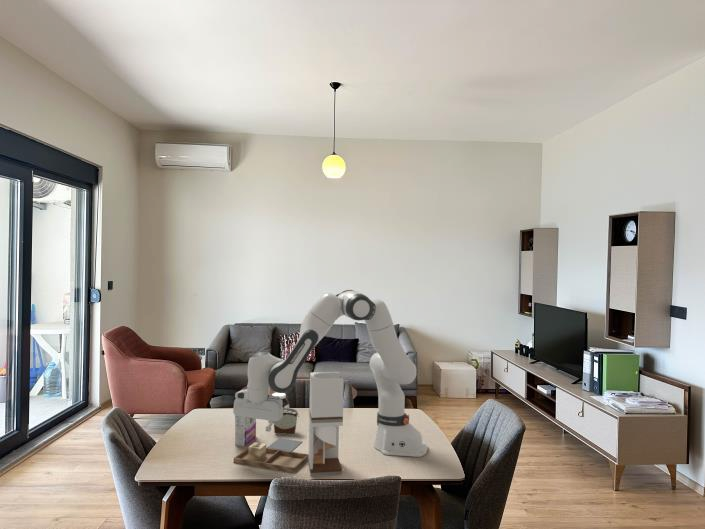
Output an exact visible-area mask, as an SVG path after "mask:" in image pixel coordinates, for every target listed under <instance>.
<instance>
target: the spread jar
mask: <svg viewBox="0 0 705 529" xmlns="http://www.w3.org/2000/svg"><path fill="white" fill-rule="evenodd" d="M271 395H272V396H279V398H281V399H282V401H283V405H282V408H290V403H289V402H290V401H289V400H288V399H287V396H286V393H277V392H274V393H272V394H271Z"/></svg>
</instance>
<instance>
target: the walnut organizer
mask: <svg viewBox="0 0 705 529" xmlns="http://www.w3.org/2000/svg"><path fill="white" fill-rule="evenodd" d="M248 451H249V446H248V447H247V448H246V449H244V450H242V451H241V452H240V453H239V454H237V455H236V456H234V457H233V463H234V464H240V465H244V466H245V465H246V466H250V467H251V466H252V467H257V468H263V469H267V470H274V471H279V472H286V473H293V474H295V473H296V472H297V471H298V470H299V469H300V468H301V467H303V466H304V464H306V462H307V461H309V453H302V452H296V451H292V452H290V451H284V450H277V449H271V448H267V447H266V457H265V458H264V459H263V460H261V461H260V462H258V461H252V460H248Z"/></svg>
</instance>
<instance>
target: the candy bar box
mask: <svg viewBox="0 0 705 529" xmlns="http://www.w3.org/2000/svg"><path fill="white" fill-rule="evenodd" d="M234 419H235V421H234V422H235V423H234V424H235V428H234V430H235V433H234V435H235V437H234V438H235V439H234V440H235V443H234V445H235V446H241V447H245V446H247V445H248V444H250V443H251V442H252V441H253V440H254V439H255V438H256V437H257V419H255V418H247V421H248V423H250V427H249V428H244V423H243V421H242V417H241V416H235V415H234Z"/></svg>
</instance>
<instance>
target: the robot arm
mask: <svg viewBox="0 0 705 529" xmlns="http://www.w3.org/2000/svg"><path fill="white" fill-rule="evenodd" d="M342 316H345V317H348V318H350V319H351V320H352V321H353V320H354V321H364V322H365V325H366V329H367V333H368V336H369V339H370V343H371V346H372V347H373V349H374V350H375V351H376V352H375V353H373V355H372V356H371V357H370V359H369V369H370V370H371V371H372V373H373V377H374V379H375V380H374V381H375V383H376V389H377V394H378V396H377V397H378V409H377V410H378V411H377V414H376V425H377V428H376V429H377V430H376V437H375V440H374V444H373V447H374V448H375V449H376V450H377V451H380V452H381V453H382V454H383V455H384V456H385V455H386V456H402V457H412V458H415V457H416V458H421V457H424V456H425V455H426V454H427V452H428V449H429V448H428V444H427V443H426V442H424V441H423V438H422V434H421V432H420V430H418V429H417V428H416V427H414V426H413V425H412V424H411V423H410V414H407V413H405V403H406V402H405V398H406V396H405V393H404V391H403V389H402V388H401V385H408V384H411V383H413V381H415V379H416V376H417V366H416V365H415V363H414V362H413V361H412V360H411V359H410V357H409V356H408V355H407V353H406V351H405V350H404V348H403V347H402V345H401V343H400V340H399V339H398V336H397V332H396V329H395V326H394V323H393V319H392V315H391V313H390V310H389V309H388V307H387V304H386V303H385V301H383V300H381V299H372V300H371V299H370V298H369V297H368V296H367V295H365V294H363V293H362V292H359V291H356V290H353V289H346V290H344V291H342V292H339V293H338V294H337V293H336V294H333V293H328V292H327V293H325V294H322V296H321V297H320V298H319V299H317V301H316V302H315V303H314V304H313V305H312V306H311V307H310V309H309V311H307V313H306V315H304V318H303V320H302V322H301V325H300V329H299V335H298V339H297V342H296V343H295V345H294V347H293V348H292V350H291V351H290V352H289V354H288V355H287V357H286V358H285V359H282V358H279V357H277V356H274V355H272V354H271V353H270V352H269V351H259V352H256V353H252V355H251V356H250V357H249V359H248V364H247V380H248V382H247V385H246V388H244V389H241V390H239V391H236V392H235V394H234V395H235V396H234V397H235V399H234V401H233V409H232V410H233V412H232V413H233V414H234V417H235V416H241V417H242V421H243V423H244V428H249V427H250V423H248V421H247V418H255V419H256V420H263V421H264V420H265V421H268V425H266V426H265V432H271V431H272V426H273V425H274V421H279V420H281V419H282V417H283V409H282V405H283V401H282V399H281V398H279V396H272V394H271V390H272V391H274V393H285V394H286V393H287V392H290V391H291V390H292V389H293V388H294V386H295V385H296V380H297V376H298V374H299V371H300V369H301V367H302V366H303V364H304V363H305V361H306V360H307V358H308V357H309V356H310V354H311V353H312V351H313V349H314V348H315V347H316V346H317V344H319V342H320V341H321V340H322V339H324V337H325V336H326V335H327V333H328V332H329V331H330V329H331V328H332V327H333V325H334V324H335V322H336V321H337V320H338V319H339V318H341V317H342Z"/></svg>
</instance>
